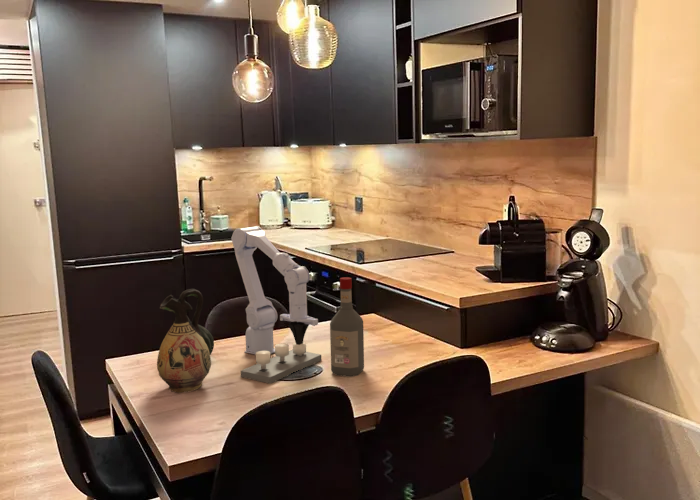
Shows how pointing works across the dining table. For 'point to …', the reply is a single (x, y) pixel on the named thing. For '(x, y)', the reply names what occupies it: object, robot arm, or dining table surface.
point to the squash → (207, 338)
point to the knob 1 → (263, 358)
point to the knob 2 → (299, 349)
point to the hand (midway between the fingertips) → (299, 343)
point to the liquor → (346, 336)
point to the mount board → (280, 367)
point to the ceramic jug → (183, 346)
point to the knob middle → (282, 351)
